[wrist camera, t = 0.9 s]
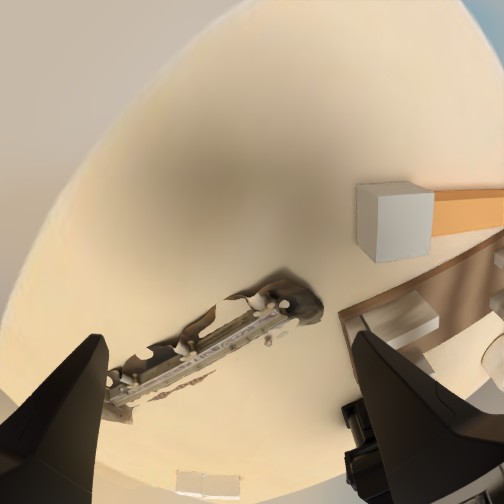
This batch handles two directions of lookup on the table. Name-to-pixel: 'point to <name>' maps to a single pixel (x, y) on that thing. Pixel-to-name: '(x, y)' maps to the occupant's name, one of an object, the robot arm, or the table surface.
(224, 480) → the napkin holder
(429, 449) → the robot arm
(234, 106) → the table surface
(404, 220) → the tan bar grey block
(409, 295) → the cable board
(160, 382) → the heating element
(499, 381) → the water bottle
